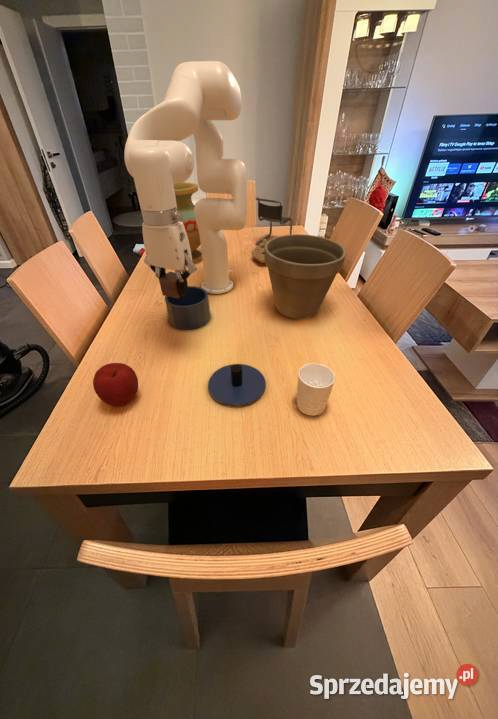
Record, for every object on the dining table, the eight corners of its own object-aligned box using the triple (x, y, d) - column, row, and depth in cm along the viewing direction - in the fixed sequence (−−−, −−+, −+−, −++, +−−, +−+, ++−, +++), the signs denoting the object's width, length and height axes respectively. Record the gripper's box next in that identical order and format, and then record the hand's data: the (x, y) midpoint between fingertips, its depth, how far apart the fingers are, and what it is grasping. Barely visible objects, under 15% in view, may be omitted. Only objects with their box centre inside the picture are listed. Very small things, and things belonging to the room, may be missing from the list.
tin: (183, 305, 108) (180, 283, 102) (217, 312, 104) (215, 290, 98) (161, 324, 98) (156, 301, 93) (197, 333, 94) (194, 310, 89)
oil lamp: (253, 268, 132) (254, 250, 127) (250, 255, 143) (250, 238, 138) (278, 267, 133) (279, 249, 127) (272, 254, 144) (273, 237, 139)
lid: (224, 361, 84) (222, 343, 80) (273, 375, 80) (274, 357, 76) (198, 397, 74) (194, 379, 70) (252, 415, 70) (252, 396, 65)
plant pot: (349, 314, 102) (364, 252, 88) (291, 337, 93) (298, 270, 79) (302, 286, 119) (309, 229, 105) (249, 302, 109) (249, 242, 95)
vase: (217, 256, 143) (212, 184, 123) (189, 271, 130) (178, 193, 110) (185, 248, 151) (176, 179, 131) (157, 261, 138) (141, 188, 119)
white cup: (291, 394, 75) (295, 364, 68) (322, 391, 75) (329, 362, 69) (297, 419, 69) (302, 389, 62) (331, 416, 69) (339, 386, 63)
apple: (121, 421, 69) (107, 391, 62) (94, 404, 72) (78, 374, 66) (151, 395, 75) (141, 365, 68) (124, 381, 78) (113, 351, 72)
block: (172, 287, 79) (169, 271, 76) (187, 290, 77) (184, 274, 74) (162, 295, 76) (159, 278, 73) (177, 298, 74) (174, 282, 71)
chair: (254, 245, 153) (254, 197, 139) (270, 235, 165) (271, 190, 150) (276, 249, 148) (279, 200, 134) (291, 239, 159) (295, 193, 145)
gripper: (203, 215, 65) (211, 291, 77) (139, 207, 69) (156, 280, 82) (185, 226, 59) (196, 305, 71) (117, 216, 64) (138, 292, 76)
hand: (175, 291), depth 76 cm, fingers closed on block, 4 cm apart
